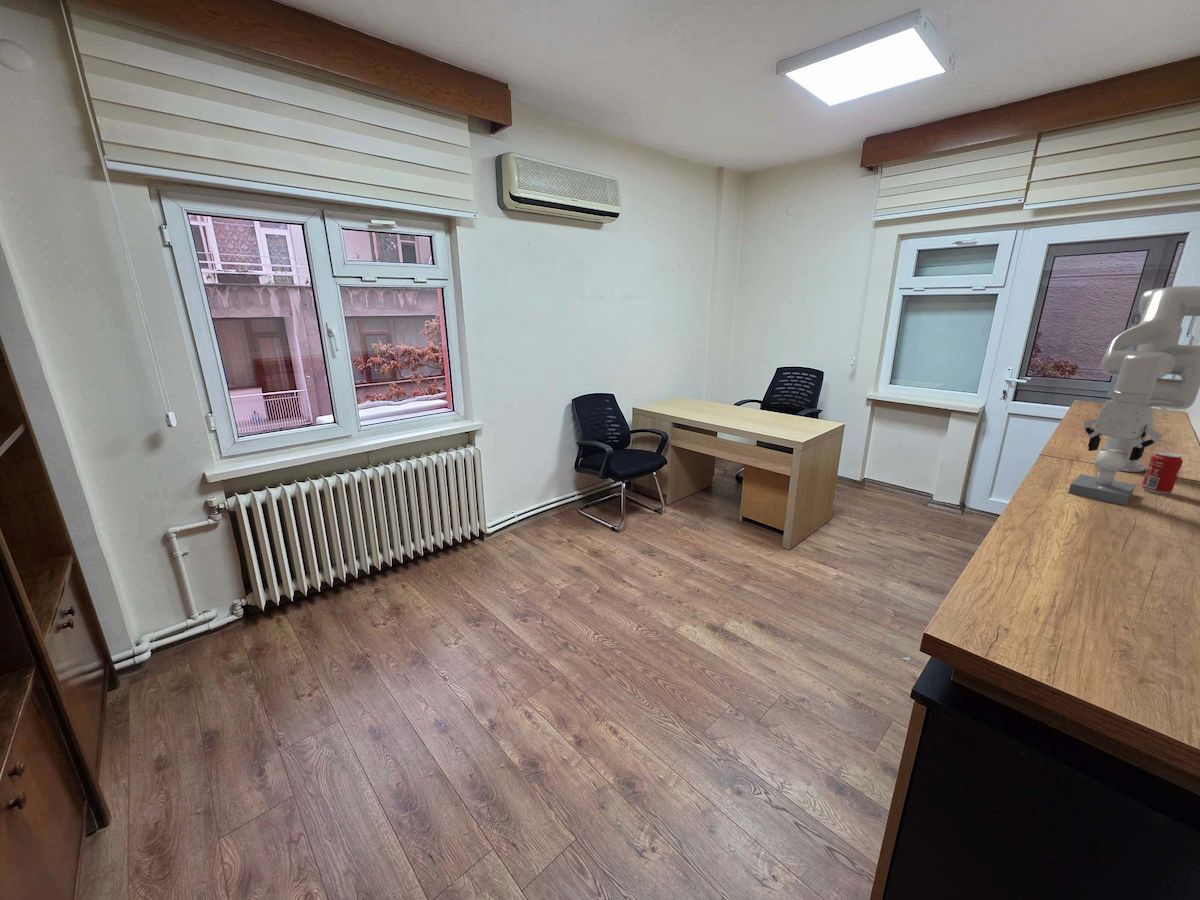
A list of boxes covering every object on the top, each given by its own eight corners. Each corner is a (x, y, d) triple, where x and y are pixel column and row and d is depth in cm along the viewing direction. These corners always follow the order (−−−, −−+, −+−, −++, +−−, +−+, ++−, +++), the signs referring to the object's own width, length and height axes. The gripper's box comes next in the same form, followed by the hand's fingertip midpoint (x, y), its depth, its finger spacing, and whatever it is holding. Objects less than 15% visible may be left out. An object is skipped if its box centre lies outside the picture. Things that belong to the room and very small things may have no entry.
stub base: (1078, 483, 155) (1085, 459, 153) (1132, 494, 146) (1140, 469, 143) (1068, 493, 147) (1075, 468, 144) (1124, 505, 138) (1133, 479, 135)
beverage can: (1177, 495, 145) (1191, 457, 141) (1156, 495, 145) (1169, 457, 142) (1154, 487, 151) (1167, 451, 147) (1134, 487, 151) (1146, 450, 148)
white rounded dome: (1093, 467, 144) (1099, 450, 142) (1094, 463, 148) (1100, 446, 146) (1122, 472, 140) (1128, 455, 138) (1123, 467, 144) (1128, 450, 142)
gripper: (1085, 393, 145) (1069, 448, 150) (1163, 405, 129) (1143, 465, 134) (1101, 392, 147) (1085, 445, 152) (1181, 403, 131) (1160, 462, 136)
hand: (1112, 455), depth 143 cm, fingers open, 9 cm apart
